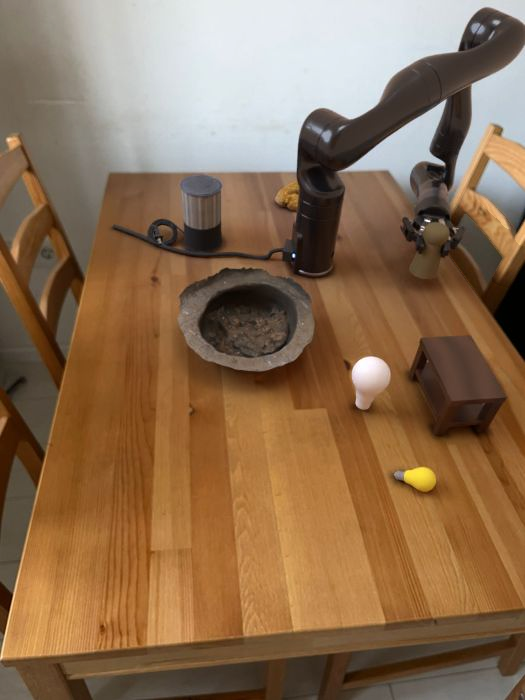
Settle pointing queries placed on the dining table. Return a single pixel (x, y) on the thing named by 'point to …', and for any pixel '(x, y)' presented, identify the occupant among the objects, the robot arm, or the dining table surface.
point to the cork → (430, 251)
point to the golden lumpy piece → (288, 196)
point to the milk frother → (195, 216)
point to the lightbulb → (369, 380)
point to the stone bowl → (246, 319)
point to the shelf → (457, 382)
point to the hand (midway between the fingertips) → (432, 252)
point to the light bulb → (418, 478)
